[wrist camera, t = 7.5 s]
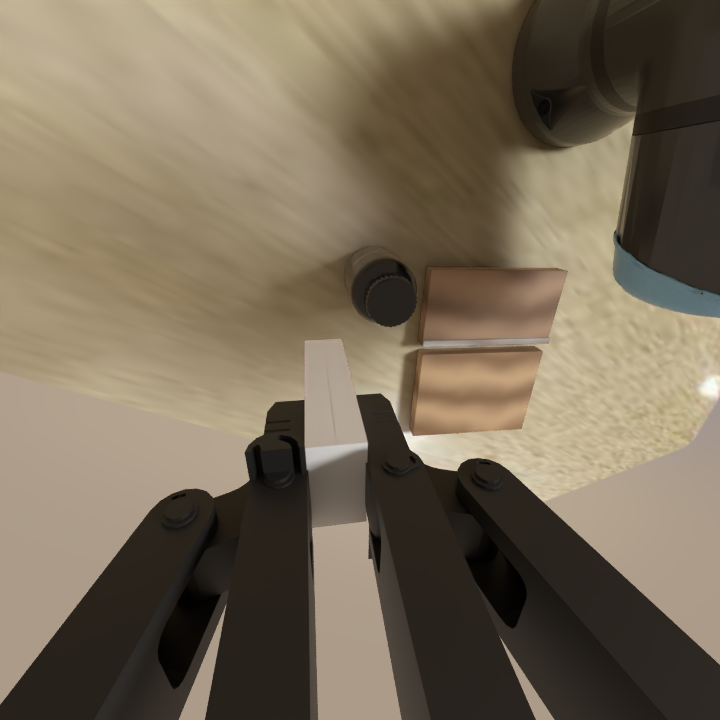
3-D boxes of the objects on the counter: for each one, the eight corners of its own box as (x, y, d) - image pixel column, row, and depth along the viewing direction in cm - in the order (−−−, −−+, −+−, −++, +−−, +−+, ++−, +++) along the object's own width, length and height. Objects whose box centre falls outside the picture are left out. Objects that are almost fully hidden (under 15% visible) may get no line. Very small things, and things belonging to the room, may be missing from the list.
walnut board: (426, 266, 42) (433, 270, 40) (557, 268, 45) (569, 271, 43) (417, 339, 47) (423, 346, 45) (537, 337, 49) (548, 343, 47)
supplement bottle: (357, 235, 40) (377, 250, 29) (407, 260, 42) (443, 283, 31) (334, 288, 42) (343, 321, 31) (382, 309, 44) (407, 347, 33)
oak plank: (418, 349, 47) (422, 354, 45) (534, 346, 50) (542, 351, 48) (409, 427, 53) (413, 435, 51) (514, 421, 55) (521, 428, 53)
